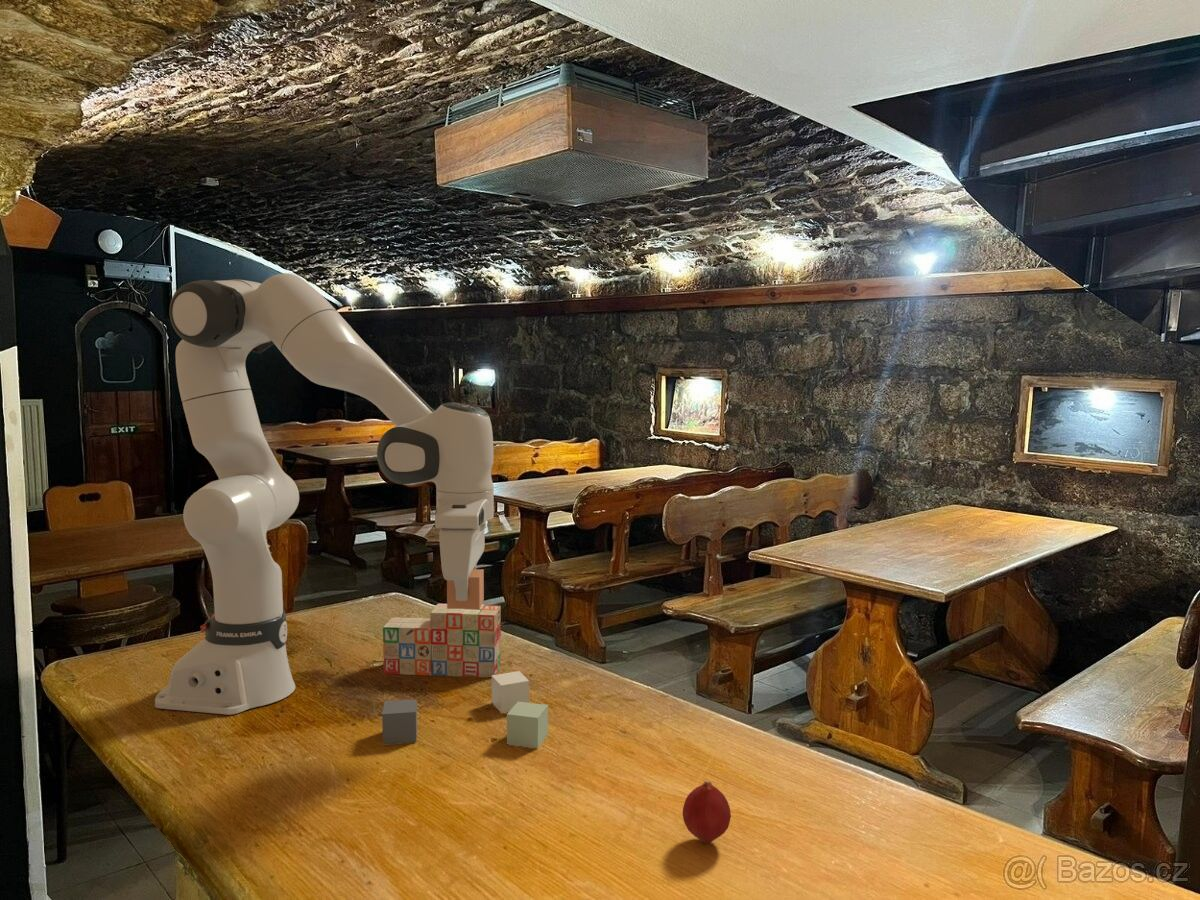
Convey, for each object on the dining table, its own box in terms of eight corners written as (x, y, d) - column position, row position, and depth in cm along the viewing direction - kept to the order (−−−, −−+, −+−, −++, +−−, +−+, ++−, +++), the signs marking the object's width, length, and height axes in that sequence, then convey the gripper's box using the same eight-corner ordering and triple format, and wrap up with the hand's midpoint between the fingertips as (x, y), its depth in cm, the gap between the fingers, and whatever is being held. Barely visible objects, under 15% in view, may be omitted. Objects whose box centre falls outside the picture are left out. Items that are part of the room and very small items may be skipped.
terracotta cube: (447, 608, 129) (446, 577, 129) (452, 599, 134) (452, 569, 134) (479, 609, 129) (479, 577, 129) (483, 599, 134) (483, 569, 134)
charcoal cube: (382, 745, 128) (382, 714, 127) (385, 731, 133) (384, 701, 132) (416, 743, 129) (415, 711, 128) (417, 729, 134) (416, 699, 133)
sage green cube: (506, 745, 128) (506, 714, 128) (518, 731, 133) (518, 701, 133) (537, 749, 127) (537, 717, 127) (548, 735, 132) (548, 704, 131)
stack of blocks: (382, 674, 157) (381, 611, 156) (393, 663, 163) (392, 601, 162) (495, 678, 156) (494, 614, 155) (501, 666, 162) (501, 604, 161)
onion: (678, 830, 105) (679, 769, 104) (723, 828, 106) (725, 767, 105) (687, 857, 99) (688, 792, 98) (734, 854, 100) (736, 791, 99)
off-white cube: (501, 714, 140) (501, 685, 139) (491, 703, 144) (491, 675, 144) (529, 709, 142) (529, 680, 141) (519, 698, 146) (518, 671, 146)
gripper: (455, 496, 141) (456, 577, 142) (432, 519, 120) (433, 612, 122) (493, 497, 141) (493, 577, 142) (476, 519, 120) (476, 613, 122)
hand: (465, 594), depth 132 cm, fingers closed on terracotta cube, 5 cm apart
